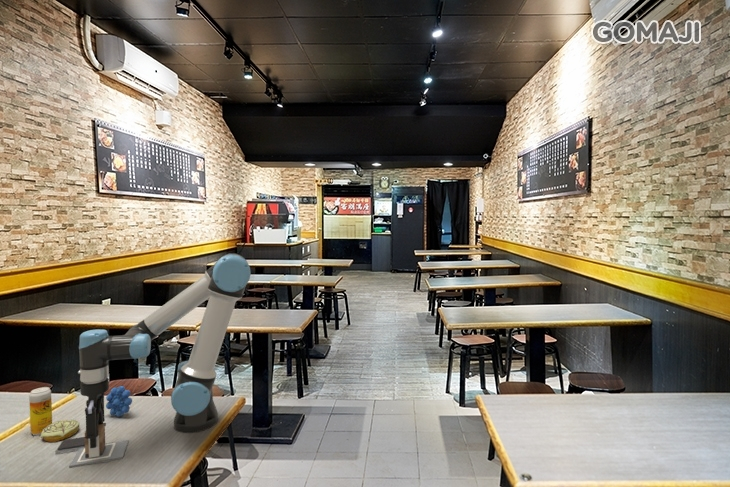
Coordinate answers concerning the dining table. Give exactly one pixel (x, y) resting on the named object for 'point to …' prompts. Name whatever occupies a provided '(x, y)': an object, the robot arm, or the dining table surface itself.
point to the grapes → (118, 401)
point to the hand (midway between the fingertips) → (96, 452)
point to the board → (110, 453)
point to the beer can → (40, 409)
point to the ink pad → (71, 445)
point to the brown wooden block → (101, 441)
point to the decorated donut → (60, 430)
